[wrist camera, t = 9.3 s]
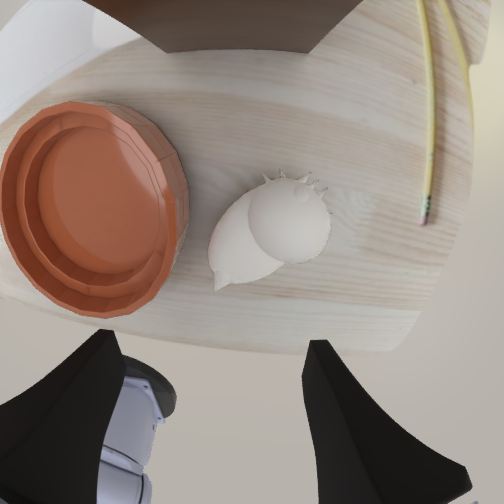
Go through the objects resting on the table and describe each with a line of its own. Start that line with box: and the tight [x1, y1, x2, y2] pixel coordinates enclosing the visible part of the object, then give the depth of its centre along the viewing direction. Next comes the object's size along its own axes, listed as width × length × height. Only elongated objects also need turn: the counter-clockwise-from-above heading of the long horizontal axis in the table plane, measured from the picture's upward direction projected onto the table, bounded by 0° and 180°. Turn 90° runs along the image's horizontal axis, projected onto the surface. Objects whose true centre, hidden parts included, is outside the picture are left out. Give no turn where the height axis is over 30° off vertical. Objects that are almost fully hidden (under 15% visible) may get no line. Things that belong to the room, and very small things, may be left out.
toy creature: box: [208, 170, 332, 293], centre depth 14 cm, size 5×8×6 cm, turn 138°
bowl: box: [0, 101, 190, 319], centre depth 15 cm, size 13×13×4 cm
